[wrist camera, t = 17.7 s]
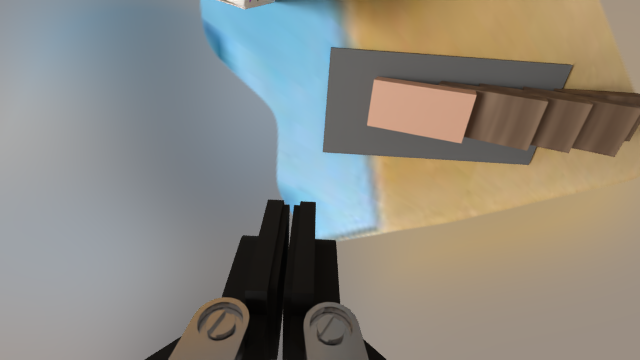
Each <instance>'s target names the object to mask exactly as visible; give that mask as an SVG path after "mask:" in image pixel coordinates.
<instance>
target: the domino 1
mask: <svg viewBox="0 0 640 360" xmlns="http://www.w3.org/2000/svg"><path fill="white" fill-rule="evenodd" d="M476 96H477V94H476V91H474V90H467V89H460V88H453V87H447V86H440V85H433V84H426V83H420V82H413V81H406V80H399V79H392V78H386V77H379V76H378V77H376V78H375V79H374V83H373V89H372V96H371V102H370V109H369V115H368V122H367V126H372V127H378V128H383V129H388V130H393V131H399V132H404V133H409V134H414V135H420V136H425V137H430V138H435V139H440V140H446V141H451V142H456V143H462V140H463V137H464V133H465V130H466V127H467V124H468V121H469V118H470V115H471V112H472V108H473V105H474V102H475V99H476Z"/></svg>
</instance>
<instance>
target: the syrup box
mask: <svg viewBox="0 0 640 360" xmlns="http://www.w3.org/2000/svg"><path fill="white" fill-rule="evenodd" d="M218 1H221V2H224V3H228V4H230V5H233V6H236V7H239V8H242V9H248V8H252V7H257V6H261V5H265V4H269V3H273V2H275V0H218Z"/></svg>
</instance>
